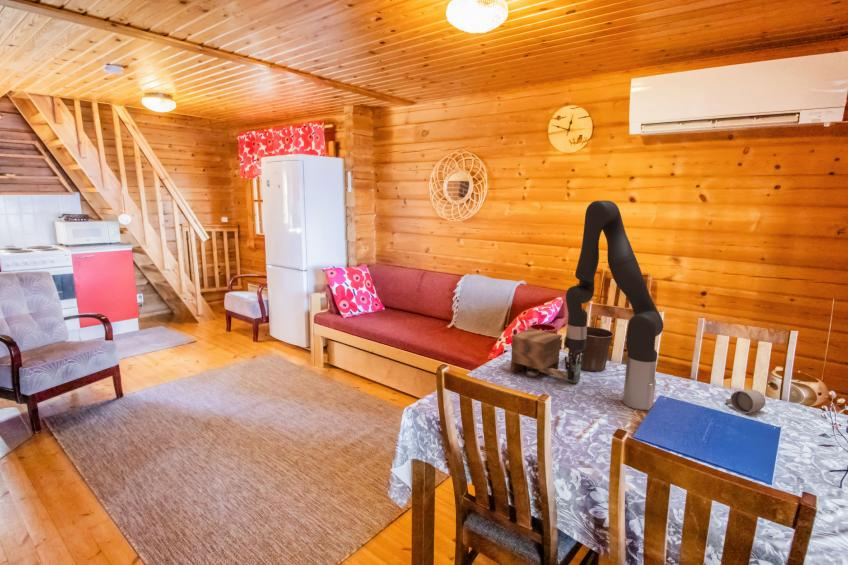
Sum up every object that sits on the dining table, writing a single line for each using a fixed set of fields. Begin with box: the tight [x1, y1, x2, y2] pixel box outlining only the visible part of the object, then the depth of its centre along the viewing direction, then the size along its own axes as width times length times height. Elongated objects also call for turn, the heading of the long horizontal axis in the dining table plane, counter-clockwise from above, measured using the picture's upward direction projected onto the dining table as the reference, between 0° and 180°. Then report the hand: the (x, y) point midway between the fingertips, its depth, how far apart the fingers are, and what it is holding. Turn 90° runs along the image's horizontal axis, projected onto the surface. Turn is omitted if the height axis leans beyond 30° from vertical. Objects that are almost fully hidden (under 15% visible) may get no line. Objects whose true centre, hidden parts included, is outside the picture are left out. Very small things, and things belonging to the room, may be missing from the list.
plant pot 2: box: [528, 323, 558, 334], centre depth 214 cm, size 13×13×12 cm
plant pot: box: [581, 326, 615, 373], centre depth 193 cm, size 16×16×16 cm
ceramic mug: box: [725, 388, 766, 414], centre depth 156 cm, size 11×8×8 cm
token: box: [525, 367, 540, 379], centre depth 182 cm, size 5×5×2 cm
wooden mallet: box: [526, 362, 582, 384], centre depth 181 cm, size 22×4×7 cm, turn 49°
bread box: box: [510, 328, 563, 375], centre depth 185 cm, size 15×16×16 cm
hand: (572, 377), depth 176 cm, fingers closed on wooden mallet, 4 cm apart
